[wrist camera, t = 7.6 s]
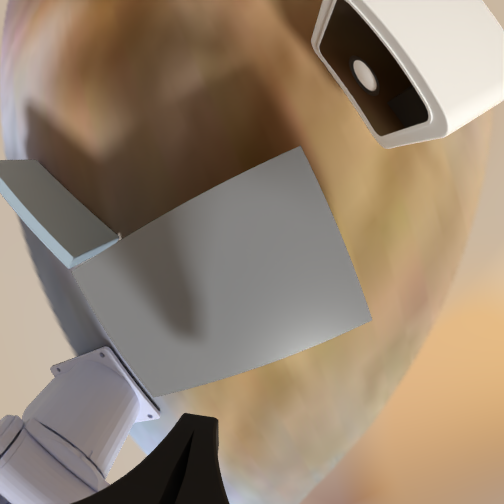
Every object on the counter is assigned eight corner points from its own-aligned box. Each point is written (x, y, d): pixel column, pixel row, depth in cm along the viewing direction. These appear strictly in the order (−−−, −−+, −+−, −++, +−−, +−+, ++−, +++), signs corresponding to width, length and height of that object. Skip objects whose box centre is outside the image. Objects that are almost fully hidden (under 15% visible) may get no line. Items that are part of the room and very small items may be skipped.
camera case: (181, 343, 20) (153, 397, 14) (123, 244, 18) (71, 271, 12) (342, 276, 18) (372, 319, 12) (289, 157, 16) (300, 145, 10)
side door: (119, 237, 18) (73, 257, 13) (107, 259, 18) (62, 285, 13) (36, 159, 17) (-12, 160, 12) (27, 181, 17) (-21, 187, 12)
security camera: (300, 70, 15) (329, -30, 5) (383, 34, 13) (452, -45, 4) (358, 156, 16) (454, 136, 6) (435, 111, 15) (540, 80, 5)
